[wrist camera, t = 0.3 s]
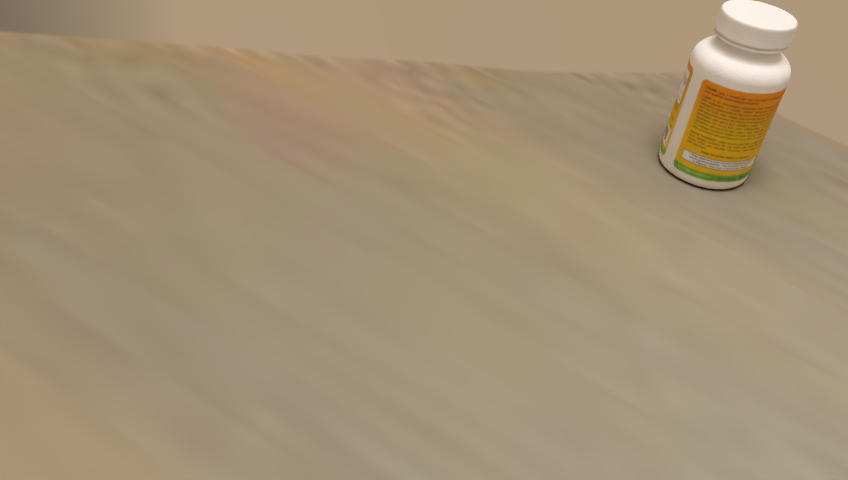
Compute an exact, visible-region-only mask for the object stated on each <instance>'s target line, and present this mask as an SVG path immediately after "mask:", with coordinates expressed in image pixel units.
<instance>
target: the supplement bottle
mask: <svg viewBox="0 0 848 480" xmlns="http://www.w3.org/2000/svg"><path fill="white" fill-rule="evenodd" d="M796 28H797V21H796V19H795V18H794V17H793V16H792V15H791V14H789V13H788V12H786V11H784V10H782V9H780V8H777V7H775V6H772V5H769V4H766V3H762V2H757V1H751V0H731V1H727V2H725V3H724V4H723V5H722V7H721V10H720V12H719V15H718V17H717V20H716V22H715V28H714V31H715V34H716V35H715V36H710V37H708V38H705V39H703V40H702V41H701V42H699V43H698V44H697V45H696V46H695V48H694V50H693V52H692V54H691V57H690V59H689V62H688V65H687V68H686V71H685V74H684V77H683V80H682V83H681V86H680V89H679V92H678V94H677V98H676V101H675V104H674V107H673V110H672V113H671V116H670V119H669V121H668V124H667V127H666V130H665V133H664V136H663V139H662V142H661V146H660V149H659V157H660V160H661V162H662V164H663V165H664V167H665V168H666V169H667V170H669V171H670V172H671V173H672V174H674V175H675V176H677V177H678V178H680V179H682V180H684V181H686V182H689V183H691V184H694V185H697V186H700V187H704V188H709V189H728V188H733V187H736V186H738V185H740V184H742V183H743V182H744V181H745V180H746V179H747V177H748V175H749V173H750V171H751V169H752V166H753V164H754V161H755V159H756V157H757V154H758V152H759V150H760V147H761V145H762V142H763V140H764V138H765V136H766V133H767V131H768V129H769V127H770V124H771V122H772V119H773V117H774V114H775V112H776V110H777V108H778V105H779V103H780V100H781V98H782V96H783V94H784V92H785V89H786V87H787V84H788V81H789V78H790V74H791V68H790V64H789V62H788V60H787V59H786V57H785V56H784V55H783V54H782V52H784V51H786V50H787V49H788V47H789V45H790V43H791V41H792V39H793V36H794V33H795V30H796Z"/></svg>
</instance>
